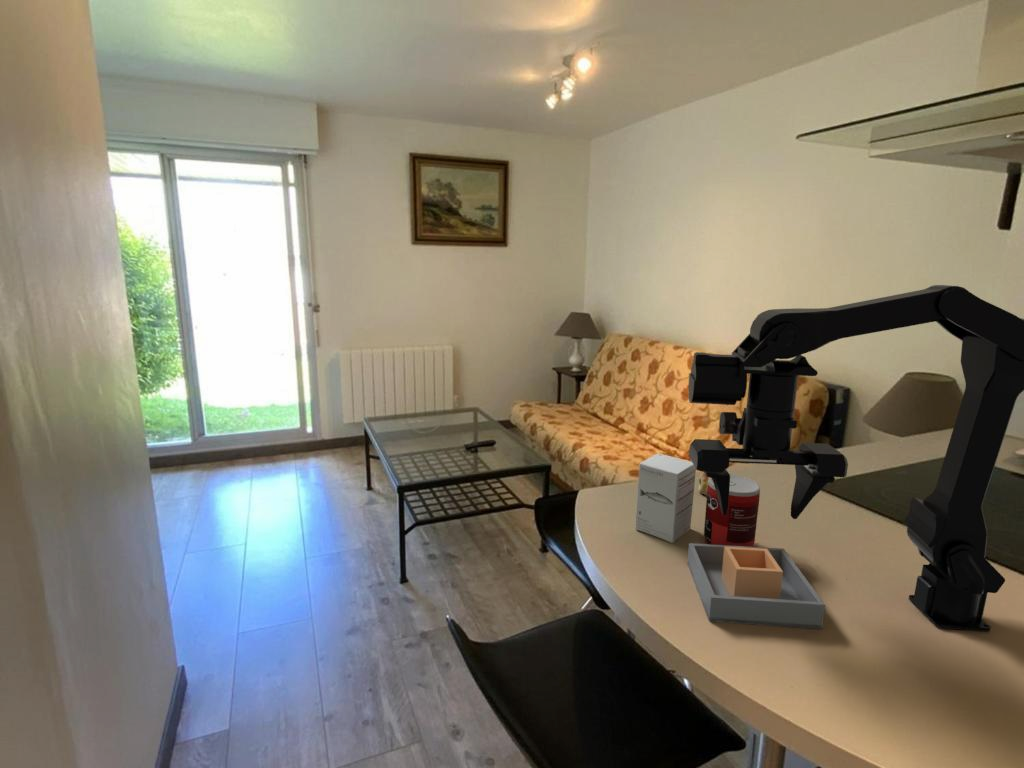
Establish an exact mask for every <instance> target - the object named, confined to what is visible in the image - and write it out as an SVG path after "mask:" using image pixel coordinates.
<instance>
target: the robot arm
mask: <svg viewBox="0 0 1024 768" xmlns="http://www.w3.org/2000/svg"><path fill="white" fill-rule="evenodd" d="M934 322H936V323H937V324H938V325H939V326H940V327H941V328H943V330H945V331H946V332H947V333H948V334H950V335H952V336H953V337H955V338H957V339H958V340H960V341H962V342H961V350H960V351H961V352H960V353H961V354H960V366H961V369H962V372H963V373H962V374H963V378H964V384H965V387H964V388H965V389H964V392H963V396H962V399H961V402H960V405H959V408H958V411H957V415H956V419H955V422H954V426H953V430H952V433H951V435H950V439H949V442H948V446H947V448H946V452H945V456H944V459H943V462H942V464H941V469H940V472H939V475H938V479H937V483H936V486H935V488H934V490H933V492H931V493H930V494H929V495H928V496H926V497H925V498H924V499H919V498H917V497H912V498H911V500H910V501H909V511H908V514H907V516H906V517H905V519H903V522H902V523H903V525H905V527H906V534H907V536H908V538H909V540H910V541H911V542H912V543H913V544H914V546H916V547H917V549H918V552H919V555H920V556H921V557H923V558H924V559H925V560H926V561H927V562H928V563H929V564H922V569H921V575H918V576H917V578H916V582H915V590H914V592H913V593H914V594H909V595H908V600H909V601H910V602H911V603H912V604H913V605H914V606H915V607H916V608H917V609H918V610H919V611H920V612H921V613H922V614H923V615H924V616H925V617H926V618H927V619H928V620H929V621H930V622H931V623H932V624H933V625H934V626H935V627H938V628H939V629H940V628H941V629H954V630H966V631H967V630H968V631H969V630H971V631H983V632H990V631H991V625H990V624H988V623H987V622H986V621H985V620H984V619H983V617H984V616H983V615H984V611H985V606H986V601H987V599H988V598H987V597H988V593H990V594H996V593H998V592H999V590H1000V589H1001V587H1002V586H1003V584H1005V582H1006V578H1005V577H1004V576H1003V575H1001V573H1000V572H999V571H998V570H997V569H996V568H995V567H994V566H993V565H992V564H991V562H989V561H988V560H987V559H986V553H987V546H988V545H987V543H988V535H989V534H988V528H987V525H986V520H985V515H984V511H983V503H984V500H985V497H986V494H987V491H988V488H989V485H990V482H991V479H992V475H993V473H994V470H995V466H996V465H997V464H996V463H997V460H998V457H999V454H1000V451H1001V448H1002V445H1003V442H1004V439H1005V435H1006V433H1007V429H1008V426H1009V423H1010V420H1011V417H1012V414H1013V411H1014V408H1015V404H1016V403H1017V400H1018V397H1020V395H1021V393H1023V392H1024V318H1023V317H1022V318H1021V317H1020V316H1019V317H1018V316H1017V315H1016V314H1013V313H1012V312H1010V311H1008V310H1006V309H1002V308H1000V307H999V306H997V305H995V304H993V303H990V302H988V301H987V300H984V299H982V298H980V297H978V296H977V295H975V294H974V293H972V292H971V291H969V290H968V289H966V287H962V286H959V285H947V284H946V285H945V284H934V285H930V286H929V287H927V288H923V289H920V290H913V291H910V292H909V291H908V292H904V293H897V294H893V295H888V296H884V297H878V298H872V299H866V300H862V301H857V302H852V303H846V304H842V305H837V306H831V307H825V308H822V307H821V308H820V307H819V308H800V307H799V308H775V309H773V308H772V309H767V310H765V311H761V312H760V313H758V315H757V316H756V317H755V318H754V320H753V321H752V323H751V325H750V328H749V334H747V336H746V337H745V338H744V339H743V340H742V341H741V342H740V343H739V344H738V346H736V347H735V349H734V350H733V351H732V352H731V354H720V353H719V354H713V353H707V352H703V351H702V352H698V351H695V352H694V354H693V362H692V364H691V369H690V372H689V373H688V402H689V403H690V404H705V405H722V406H723V405H724V406H725V405H727V406H735V405H736V404H737V402H742V399H744V398H745V396H746V393H747V396H746V397H747V398H746V407H743V411H742V416H741V417H738V416H737V412H735V411H734V412H733V411H721V412H720V413H719V415H720V416H719V423H718V427H719V431H718V432H719V434H720V435H731V440H732V442H736V444H737V445H739V446H742V448H736V447H733V448H732V447H726V446H725V445H724V444H723V443H722V441H721V440H720V439H707V438H706V439H703V438H701V439H700V438H699V439H698V438H694V439H693V440H692V442H691V443H690V445H689V447H688V448H689V449H688V457H689V459H690V462H692V463H693V464H694V466H695V468H696V471H699V472H701V473H705V475H706V476H707V477H710V478H712V480H713V483H714V486H715V489H716V493H717V497H718V501H719V505H720V508H721V512H722V514H723V515H724V516H726V515H727V511H728V504H729V488H730V475H731V474H730V473H729V472H728V468H730V463H736V464H758V465H759V464H762V465H783V466H784V465H787V466H794V468H795V481H794V482H795V483H794V488H793V494H792V499H791V504H790V517H791V518H792V519H793V520H798V518H799V517H800V515H801V514H802V512H804V510H805V509H806V507H808V505H809V503H811V501H812V500H813V499H814V498H815V497H816V495H817V494H818V493H819V492H820V491H821V490H822V489H823V488H824V487H826V485H827V484H830V483H831V484H833V483H835V482H836V481H835V480H836V478H846V477H847V475H848V467H849V463H848V460H847V457H846V455H844V454H843V453H842V452H840V451H839V450H837V449H836V448H835V447H834V446H832V445H830V444H829V443H820V442H819V443H818V442H817V443H816V442H802V443H800V445H799V446H798V449H797V450H795V449H793V450H792V449H791V444H792V443H791V441H792V435H793V434H792V433H793V429H797V427H798V420H797V419H795V418H794V416H795V408H796V401H797V400H796V399H797V391H798V390H797V389H798V383H799V376H801V377H802V376H803V377H816V376H817V375H818V370H817V369H815V368H814V367H813V366H812V365H811V364H810V363H809V361H808V360H807V358H806V357H805V355H804V354H807V353H810V352H813V351H816V350H818V349H820V348H822V347H824V346H826V345H828V344H829V343H833V342H836V341H837V340H841V339H845V338H850V337H851V338H852V337H857V336H862V335H868V334H874V333H878V332H879V333H880V332H885V331H890V330H895V329H901V328H907V327H908V328H909V327H913V326H918V325H924V324H930V323H934ZM788 359H790V360H788ZM748 374H749V378H748ZM747 387H748V389H747Z"/></svg>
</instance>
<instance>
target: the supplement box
mask: <svg viewBox="0 0 1024 768" xmlns="http://www.w3.org/2000/svg"><path fill="white" fill-rule="evenodd" d="M696 471H697V469H696V468H695V466H694V464H693V463H692V461H691V460H685V459H683V458H677V457H675V456H669V455H667V454H663V453H659V452H658V453H656V454H654V455H652V456H650V457H649V458H646V459H645V460H643V461H641V462H640V463H639V467H638V483H637V496H636V497H637V498H636V509H635V510H636V512H635V513H636V514H635V526H634V527H635V530H637V531H640V532H643V533H645V534H648V535H651V536H653V537H656V538H658V539H661V540H664V541H667V542H669V543H671V544H673V543H675V542H676V541H678V539H680V538H681V537H682V536H683V535H685V534H686V533H687V532H688V531H690V529H691V527H692V526H691V523H692V515H693V505H694V504H693V503H694V494H695V484H696Z"/></svg>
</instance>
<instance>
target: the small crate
mask: <svg viewBox="0 0 1024 768" xmlns="http://www.w3.org/2000/svg"><path fill="white" fill-rule="evenodd" d="M782 576H783V571H782V569H781V568H780V567H779V565H778V564H777V562H776V561H775V559H774V558H773V557H772V555H771V554H770V552H769V551H768V549H761V548H742V547H724V555H723V566H722V576H721V578H722V580H723V582H724V584H725V586H726V588H727V590H728V592H729V594H730V596H737V597H752V598H768V599H780V593H781V585H782Z"/></svg>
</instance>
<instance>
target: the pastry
mask: <svg viewBox="0 0 1024 768" xmlns="http://www.w3.org/2000/svg"><path fill="white" fill-rule="evenodd" d="M709 478H710V477H707V476H706V475H705V473H704V472H701V473H700V476H699V479H698V492H699V493H700V494H702V495H703V494H704V495H703V496H705V495H706V496H705V497H707V489H708V482H709Z"/></svg>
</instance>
